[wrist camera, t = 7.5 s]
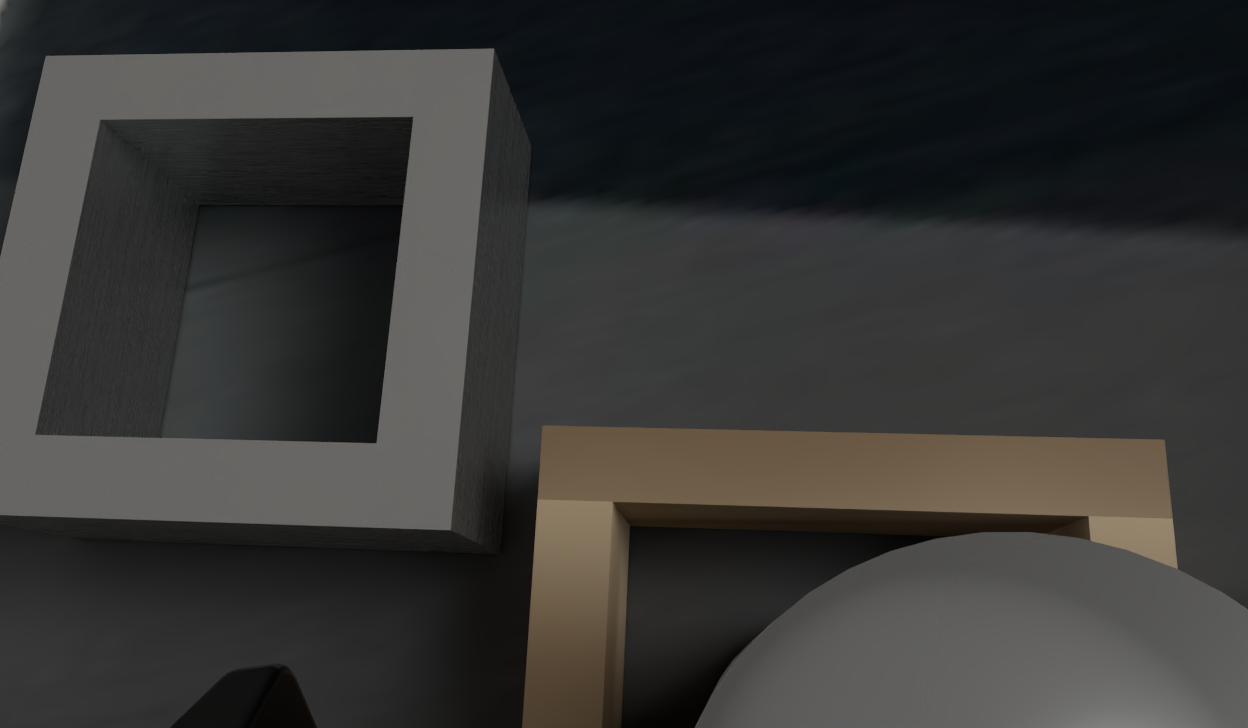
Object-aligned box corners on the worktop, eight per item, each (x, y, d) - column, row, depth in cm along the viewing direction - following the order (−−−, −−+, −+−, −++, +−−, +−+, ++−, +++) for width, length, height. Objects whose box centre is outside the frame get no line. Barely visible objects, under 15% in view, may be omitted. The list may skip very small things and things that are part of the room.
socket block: (500, 554, 16) (450, 530, 13) (77, 538, 17) (-58, 512, 14) (531, 147, 18) (493, 49, 15) (150, 149, 19) (46, 55, 16)
